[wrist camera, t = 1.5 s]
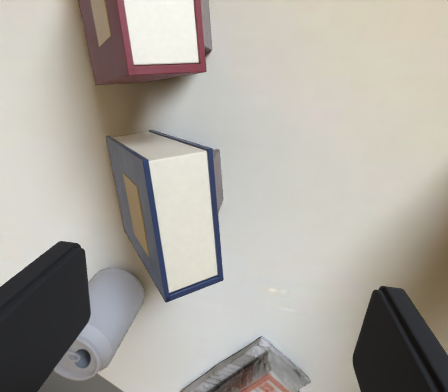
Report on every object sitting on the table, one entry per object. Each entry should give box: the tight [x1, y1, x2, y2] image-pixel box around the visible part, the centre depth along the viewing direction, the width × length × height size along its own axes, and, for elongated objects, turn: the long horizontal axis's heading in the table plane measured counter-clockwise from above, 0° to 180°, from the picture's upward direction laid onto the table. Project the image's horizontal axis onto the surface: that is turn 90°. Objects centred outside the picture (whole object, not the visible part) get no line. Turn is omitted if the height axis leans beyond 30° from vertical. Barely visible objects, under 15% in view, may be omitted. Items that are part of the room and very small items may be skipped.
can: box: [54, 268, 144, 381], centre depth 37 cm, size 8×8×12 cm
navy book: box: [106, 130, 223, 302], centre depth 28 cm, size 15×11×5 cm
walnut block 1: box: [201, 0, 212, 51], centre depth 26 cm, size 2×6×7 cm, turn 4°
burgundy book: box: [78, 0, 206, 85], centre depth 23 cm, size 15×11×5 cm
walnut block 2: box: [213, 149, 223, 213], centre depth 32 cm, size 2×6×7 cm, turn 4°
